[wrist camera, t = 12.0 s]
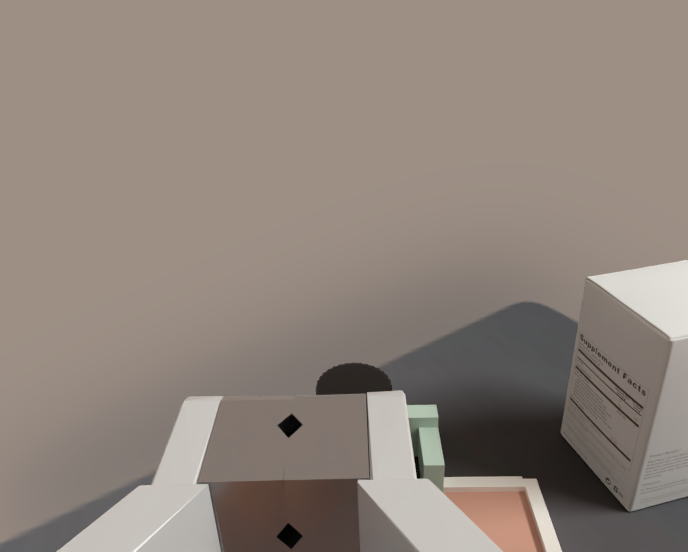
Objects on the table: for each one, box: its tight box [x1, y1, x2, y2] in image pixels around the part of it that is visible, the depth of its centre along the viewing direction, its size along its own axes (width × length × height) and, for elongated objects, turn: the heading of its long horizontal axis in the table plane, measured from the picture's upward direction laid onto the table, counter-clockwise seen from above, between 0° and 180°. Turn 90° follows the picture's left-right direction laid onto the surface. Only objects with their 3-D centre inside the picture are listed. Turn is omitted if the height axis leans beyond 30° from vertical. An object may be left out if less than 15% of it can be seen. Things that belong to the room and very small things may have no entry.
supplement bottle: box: [316, 363, 392, 397], centre depth 40 cm, size 7×7×12 cm
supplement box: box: [561, 260, 688, 512], centre depth 44 cm, size 9×9×15 cm
